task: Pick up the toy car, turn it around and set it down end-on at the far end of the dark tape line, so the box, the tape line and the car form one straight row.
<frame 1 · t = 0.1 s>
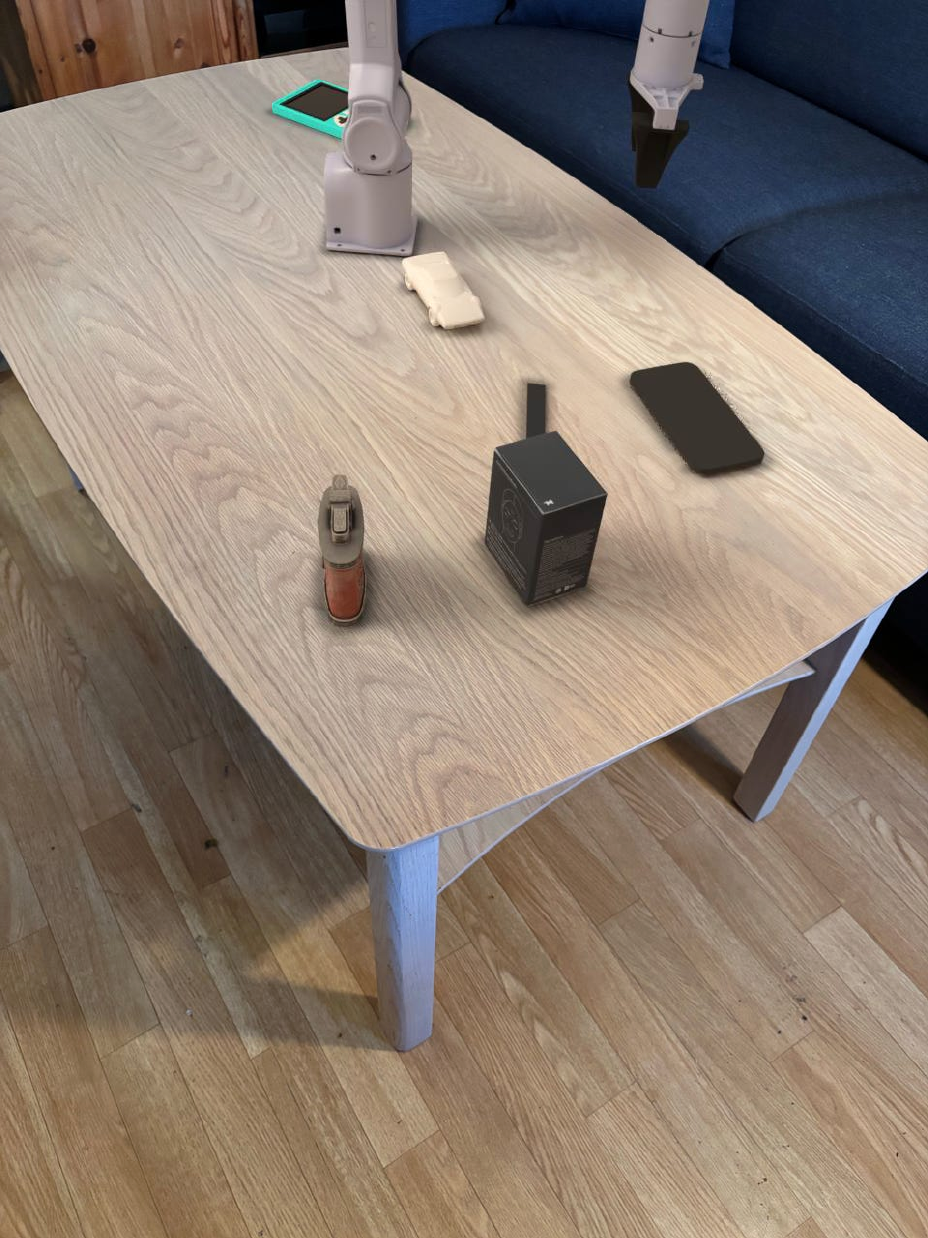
hand: (643, 167, 101), 10 cm above the table, tool pointing down, fingers open, 7 cm apart
phone: (693, 420, 92), on the table
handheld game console: (341, 118, 127), on the table
tape line: (535, 435, 89), on the table
box: (533, 566, 79), on the table
toy car: (442, 304, 102), on the table
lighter: (345, 589, 77), on the table
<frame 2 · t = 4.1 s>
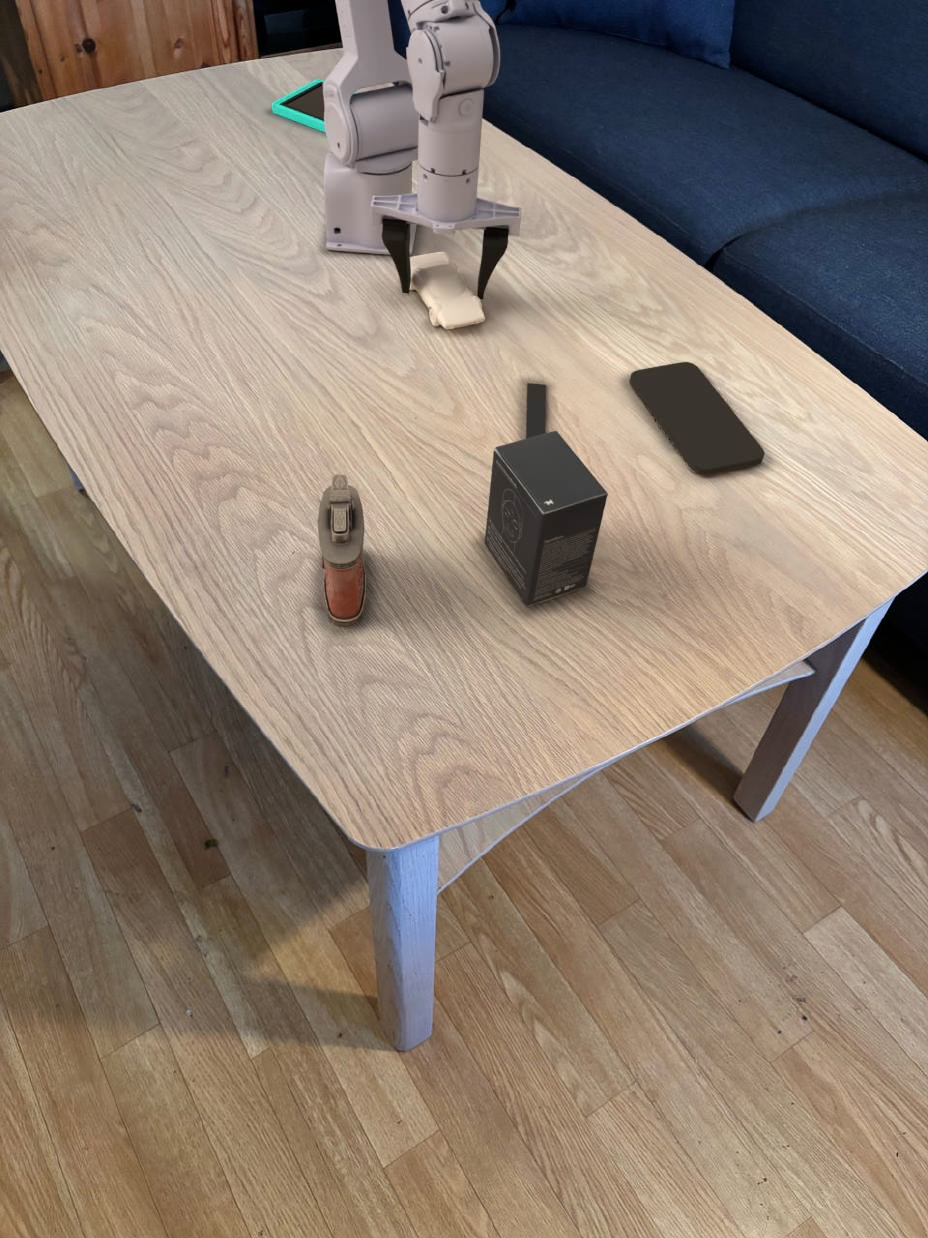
hand: (443, 290, 100), 1 cm above the table, tool pointing down, fingers closed on toy car, 7 cm apart
toy car: (443, 304, 102), on the table, touching gripper
everything else where it was.
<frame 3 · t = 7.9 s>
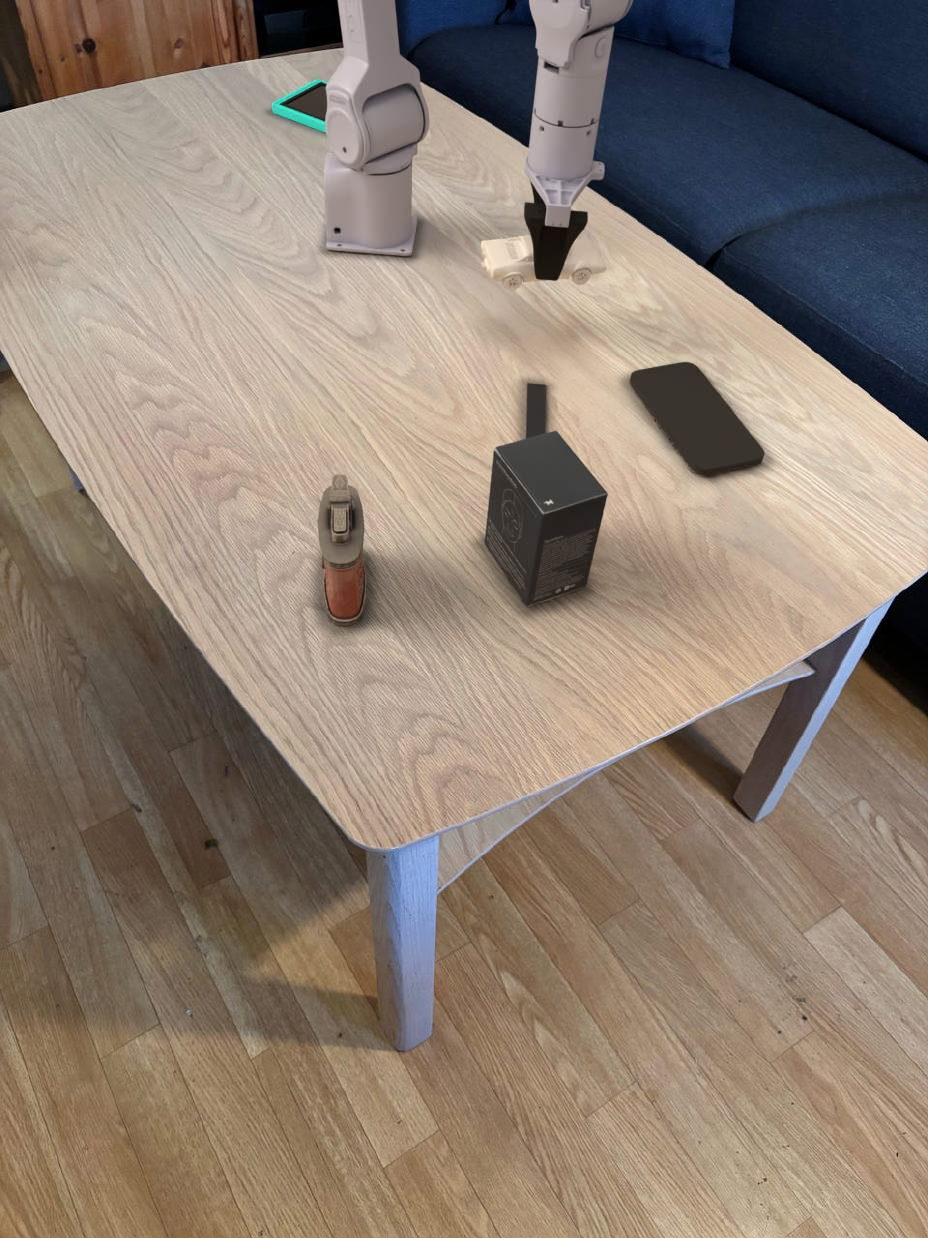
hand: (546, 258, 93), 8 cm above the table, tool pointing down, fingers closed on toy car, 6 cm apart
toy car: (540, 274, 94), point 7 cm above the table, touching gripper
everything else where it was.
when the fingers open (2 cm above the table, at t = 11.8 s): toy car stays where it is, on the table.
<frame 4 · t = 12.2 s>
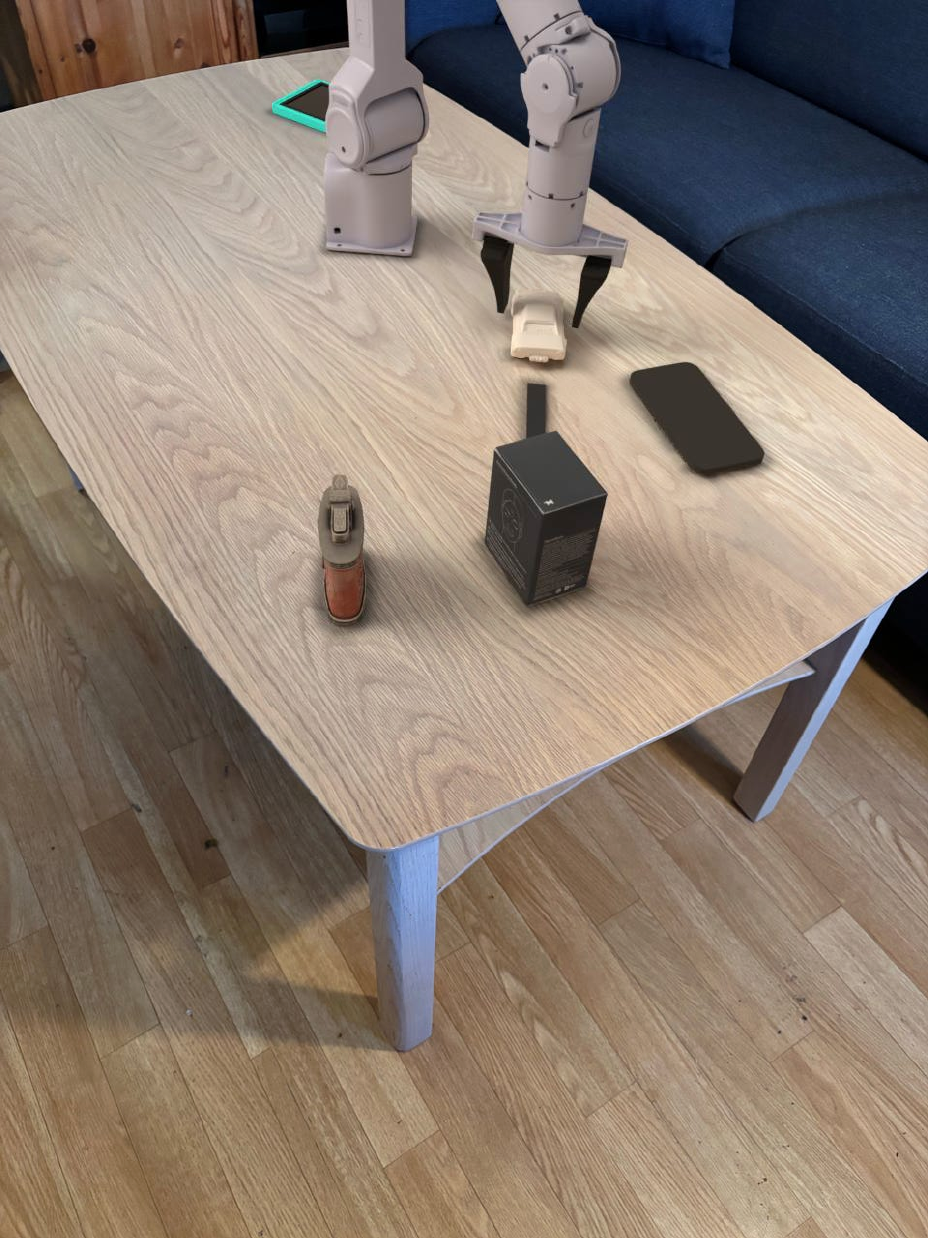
hand: (539, 315, 97), 2 cm above the table, tool pointing down, fingers open, 7 cm apart
toy car: (536, 337, 99), on the table
everything else where it was.
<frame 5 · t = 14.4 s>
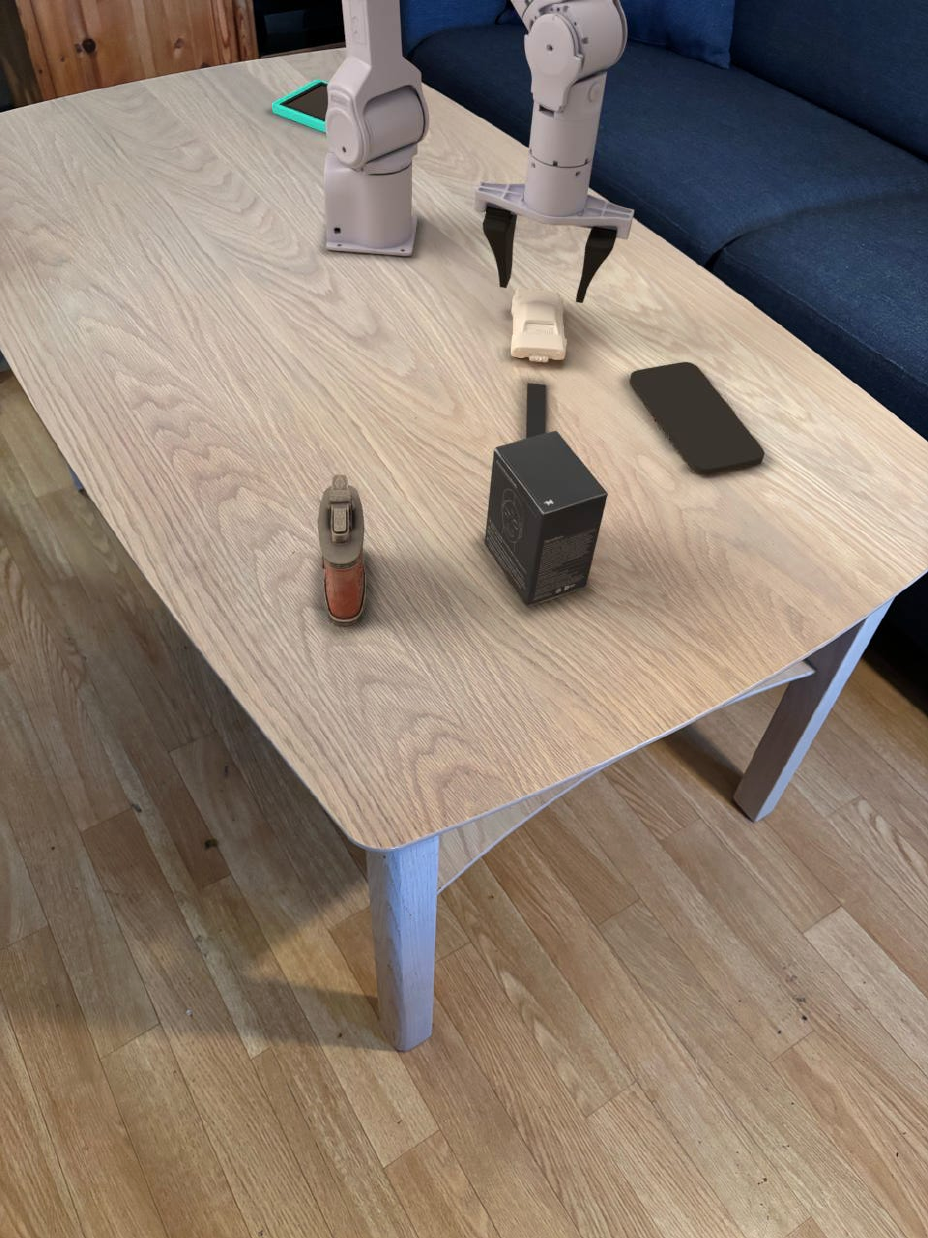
hand: (542, 289, 95), 5 cm above the table, tool pointing down, fingers open, 7 cm apart
nothing on the table moved.
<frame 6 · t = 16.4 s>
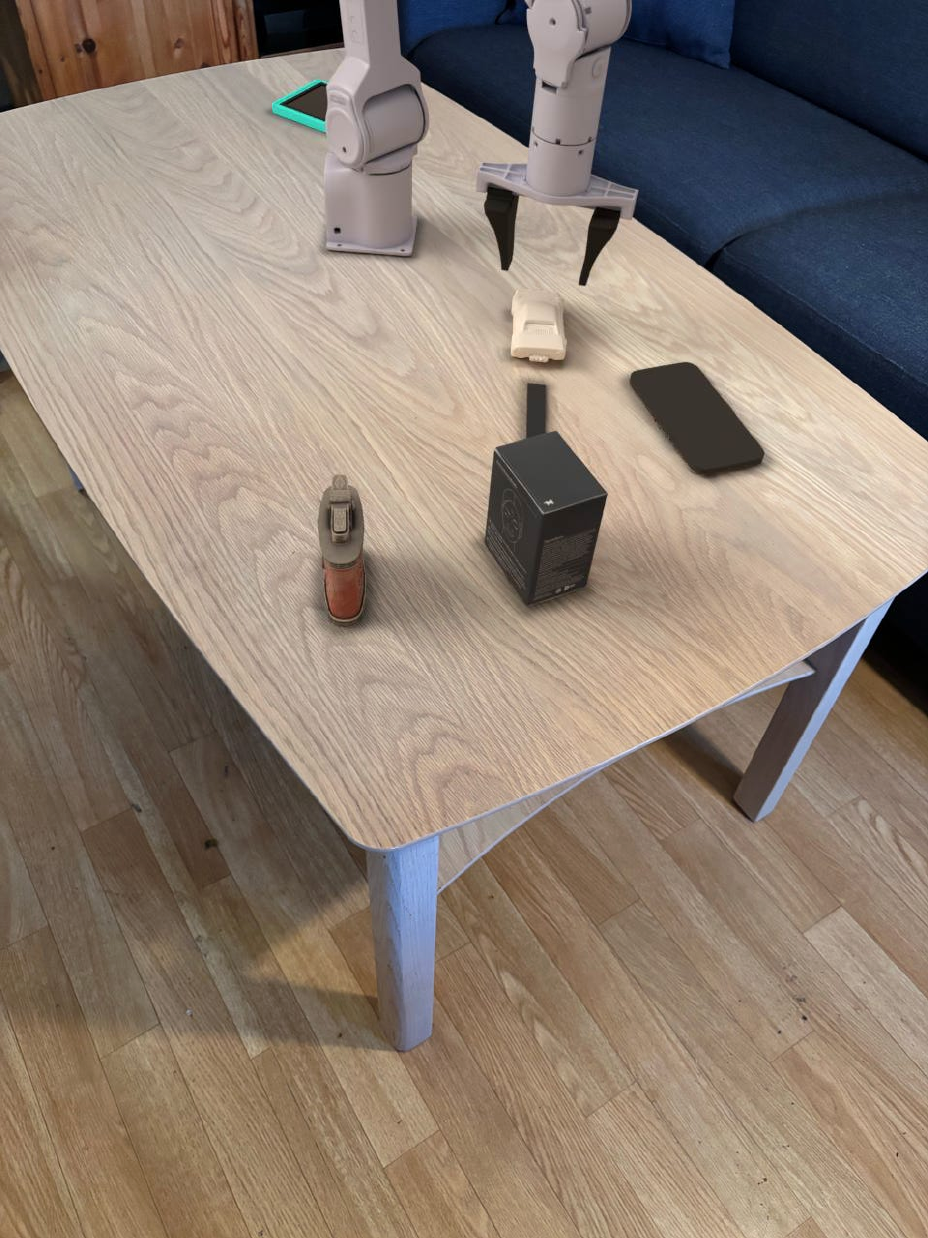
hand: (545, 272, 94), 7 cm above the table, tool pointing down, fingers open, 7 cm apart
nothing on the table moved.
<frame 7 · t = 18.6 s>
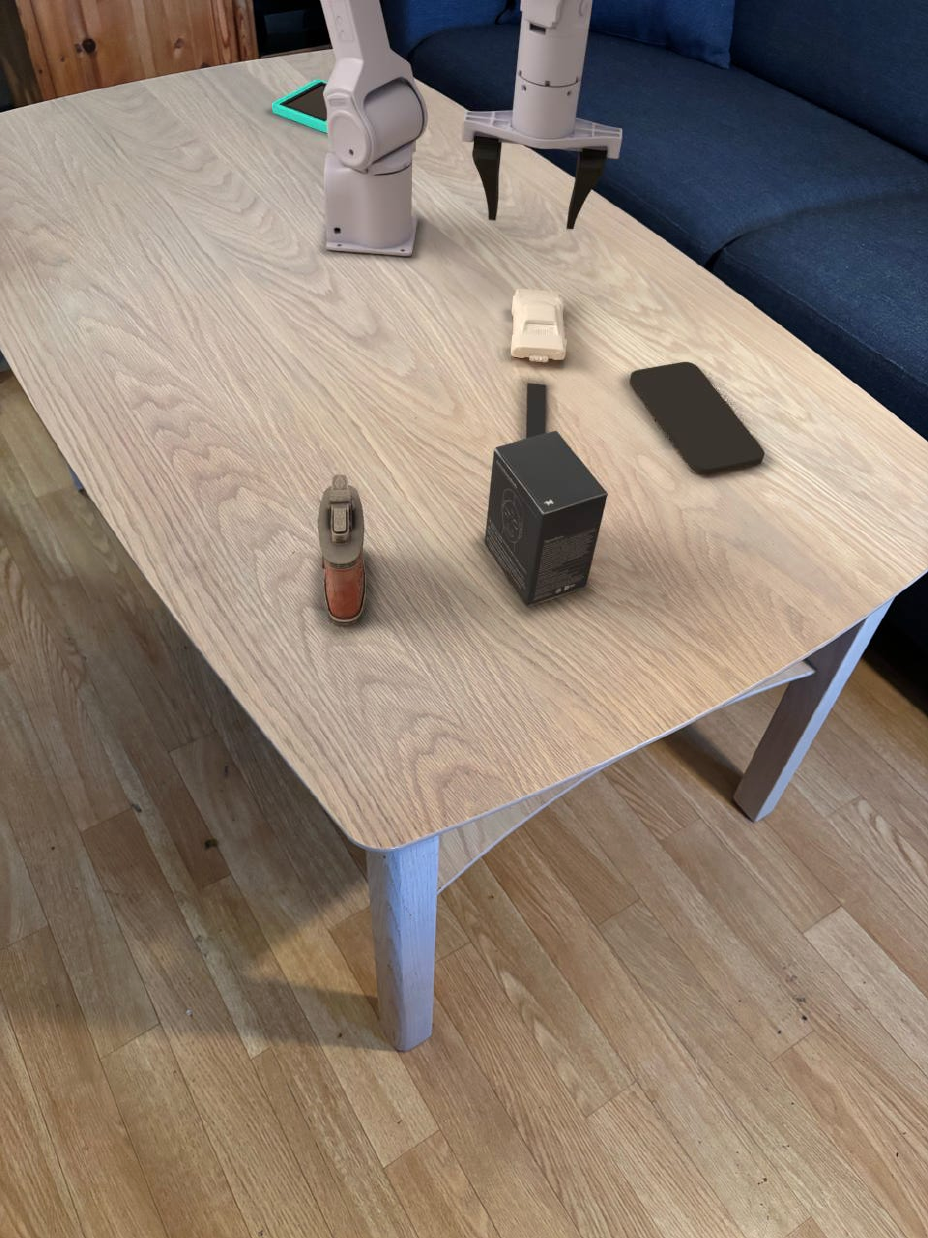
hand: (531, 219, 95), 9 cm above the table, tool pointing down, fingers open, 7 cm apart
nothing on the table moved.
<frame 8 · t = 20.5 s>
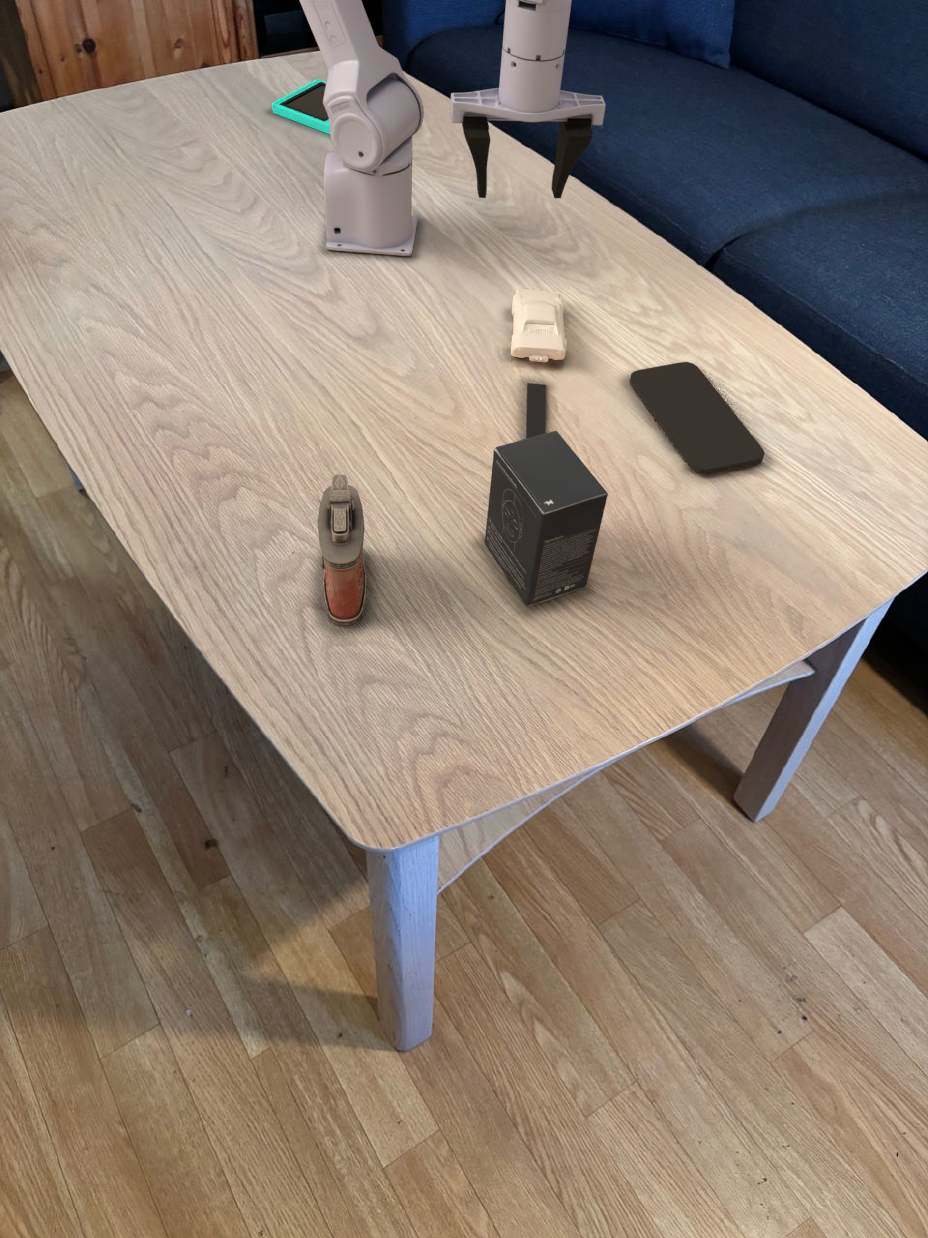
hand: (518, 193, 98), 9 cm above the table, tool pointing down, fingers open, 7 cm apart
nothing on the table moved.
at the end: toy car tilted 0°; the gripper is holding nothing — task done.
